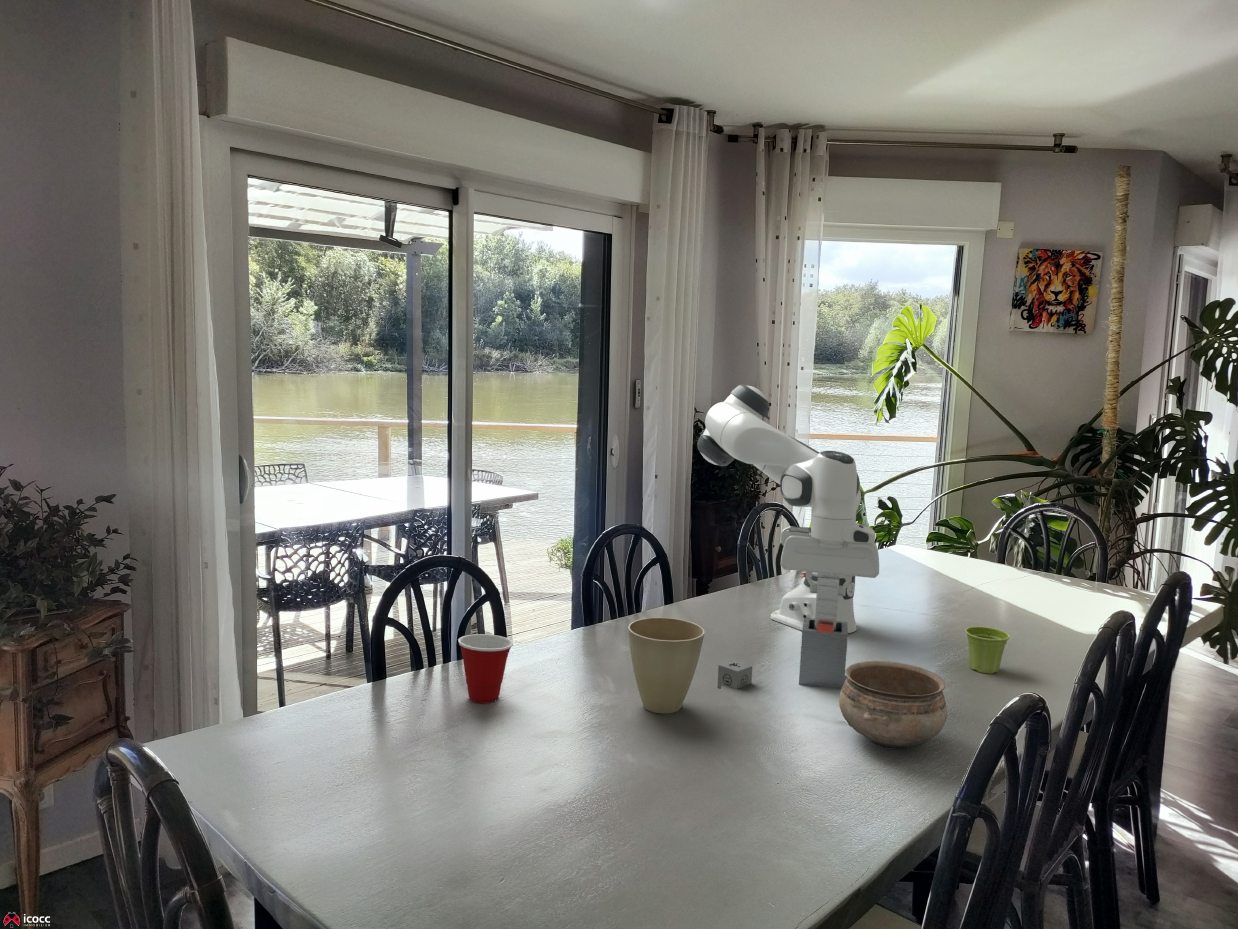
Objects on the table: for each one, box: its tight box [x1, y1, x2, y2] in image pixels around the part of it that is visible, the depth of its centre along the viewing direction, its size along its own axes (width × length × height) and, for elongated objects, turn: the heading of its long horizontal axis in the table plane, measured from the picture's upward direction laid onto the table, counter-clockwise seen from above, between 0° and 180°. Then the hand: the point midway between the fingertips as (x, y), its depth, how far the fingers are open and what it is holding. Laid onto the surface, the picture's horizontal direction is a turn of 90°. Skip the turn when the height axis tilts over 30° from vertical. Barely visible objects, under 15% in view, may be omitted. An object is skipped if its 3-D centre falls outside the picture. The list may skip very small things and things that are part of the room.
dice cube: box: [717, 659, 753, 690], centre depth 189 cm, size 5×5×5 cm
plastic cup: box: [457, 633, 514, 704], centre depth 179 cm, size 11×11×12 cm
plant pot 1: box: [627, 616, 705, 715], centre depth 177 cm, size 15×15×16 cm
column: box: [814, 573, 839, 632], centre depth 191 cm, size 4×5×20 cm
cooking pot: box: [838, 660, 948, 750], centre depth 165 cm, size 25×19×12 cm
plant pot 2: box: [964, 626, 1011, 674], centre depth 206 cm, size 9×9×9 cm
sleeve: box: [798, 618, 849, 691], centre depth 192 cm, size 16×16×14 cm
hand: (827, 593), depth 191 cm, fingers closed on column, 4 cm apart
